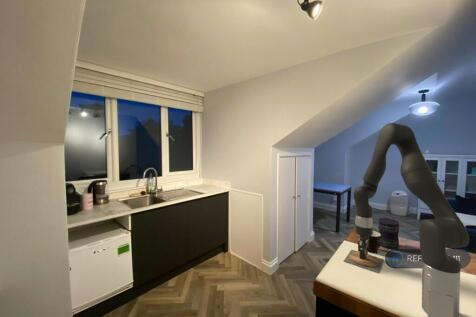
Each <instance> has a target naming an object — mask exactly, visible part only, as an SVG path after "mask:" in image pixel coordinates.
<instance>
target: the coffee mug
mask: <svg viewBox="0 0 476 317" xmlns="http://www.w3.org/2000/svg"><path fill="white" fill-rule="evenodd" d="M380 236H381V234H380V233H379V231H375V230H373V235H372V236H369V245H368V246H369V247H367V248H368V253H371V254H378V253H379V249H380V247H381V246H380Z"/></svg>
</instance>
